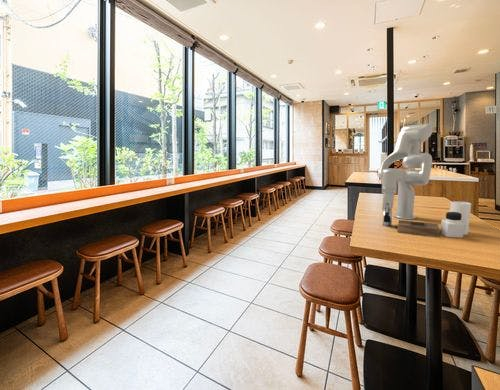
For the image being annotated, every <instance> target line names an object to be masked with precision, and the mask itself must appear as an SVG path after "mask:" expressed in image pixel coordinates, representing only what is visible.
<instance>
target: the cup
mask: <svg viewBox="0 0 500 390" xmlns="http://www.w3.org/2000/svg"><path fill="white" fill-rule="evenodd" d="M449 206H450V208H449V212H458V213H461V214H462V217H461V221H460V222H461V223H463V224H465V227H464V234H463V236H466V235H469V229H470V227H469V226H470V219H471V210H472V209H471V208H472V203H471V202H467V201H458V200H457V201H451V202H450V205H449Z"/></svg>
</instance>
